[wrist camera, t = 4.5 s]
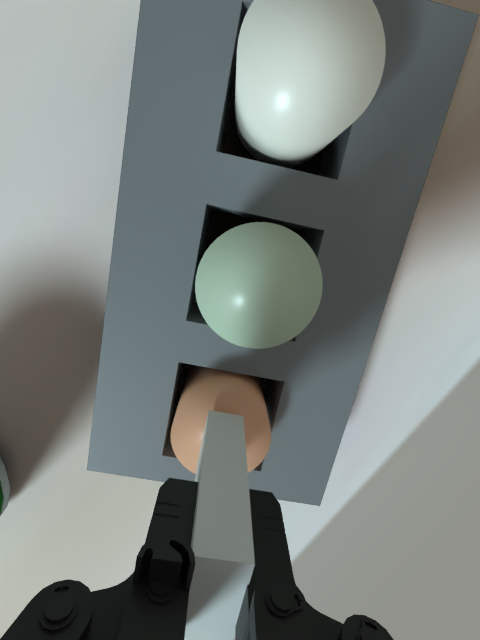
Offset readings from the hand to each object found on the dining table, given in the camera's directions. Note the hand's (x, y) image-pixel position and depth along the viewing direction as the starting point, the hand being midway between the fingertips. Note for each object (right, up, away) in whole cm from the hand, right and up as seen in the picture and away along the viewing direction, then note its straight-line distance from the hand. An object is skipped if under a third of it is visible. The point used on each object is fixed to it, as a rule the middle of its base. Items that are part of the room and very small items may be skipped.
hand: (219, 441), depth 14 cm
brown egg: (0, +1, +5) cm, 5 cm away
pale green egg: (+1, +8, +2) cm, 8 cm away
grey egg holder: (+1, +8, +4) cm, 9 cm away
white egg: (+3, +14, 0) cm, 14 cm away
